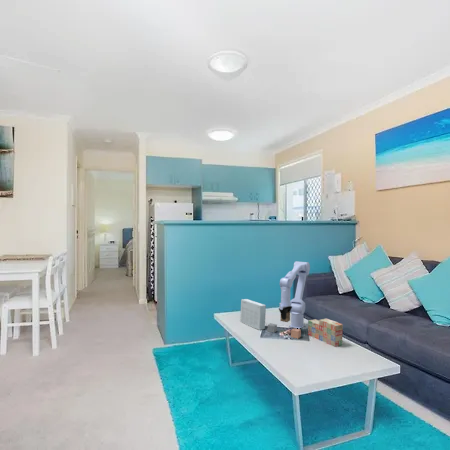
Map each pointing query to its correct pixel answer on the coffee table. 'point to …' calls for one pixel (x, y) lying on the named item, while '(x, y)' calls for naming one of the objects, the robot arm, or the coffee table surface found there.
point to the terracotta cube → (296, 333)
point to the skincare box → (253, 314)
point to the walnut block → (286, 317)
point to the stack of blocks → (326, 331)
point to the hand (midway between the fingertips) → (285, 318)
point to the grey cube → (272, 327)
